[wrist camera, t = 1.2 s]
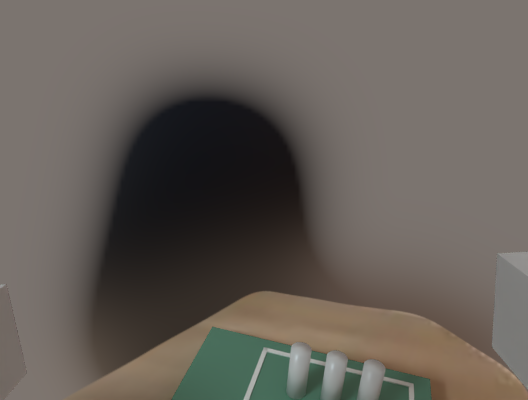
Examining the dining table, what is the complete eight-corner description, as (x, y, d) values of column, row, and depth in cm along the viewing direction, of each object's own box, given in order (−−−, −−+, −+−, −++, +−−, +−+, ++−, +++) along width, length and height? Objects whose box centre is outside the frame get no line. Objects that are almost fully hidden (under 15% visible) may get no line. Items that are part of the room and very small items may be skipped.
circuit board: (153, 451, 34) (149, 387, 31) (212, 342, 44) (213, 288, 41) (434, 539, 29) (458, 474, 27) (425, 395, 40) (441, 338, 37)
